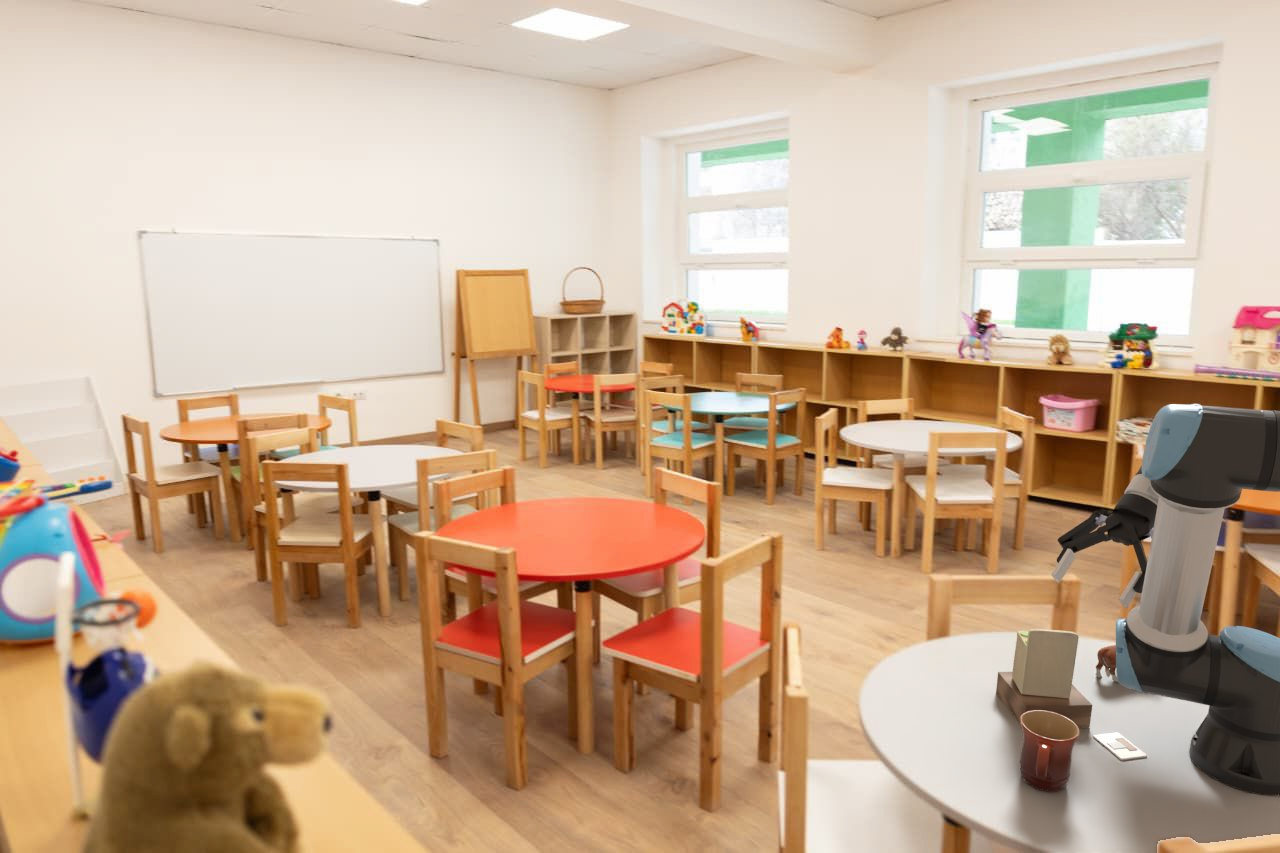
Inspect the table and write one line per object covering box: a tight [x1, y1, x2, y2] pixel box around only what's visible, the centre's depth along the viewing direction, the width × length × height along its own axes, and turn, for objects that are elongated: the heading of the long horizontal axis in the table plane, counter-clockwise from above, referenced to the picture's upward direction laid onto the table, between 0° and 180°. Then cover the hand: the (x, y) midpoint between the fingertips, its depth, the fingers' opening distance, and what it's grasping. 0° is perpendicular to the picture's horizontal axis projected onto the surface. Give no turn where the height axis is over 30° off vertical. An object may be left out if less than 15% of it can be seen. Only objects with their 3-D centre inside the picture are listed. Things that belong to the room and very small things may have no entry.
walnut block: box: [995, 671, 1093, 729], centre depth 159 cm, size 12×12×5 cm
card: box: [1092, 731, 1148, 761], centre depth 148 cm, size 7×5×1 cm
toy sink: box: [1011, 628, 1079, 698], centre depth 157 cm, size 8×7×13 cm
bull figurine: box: [1095, 644, 1119, 683], centre depth 171 cm, size 4×13×8 cm, turn 103°
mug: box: [1019, 710, 1081, 793], centre depth 137 cm, size 12×9×10 cm
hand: (1087, 591), depth 162 cm, fingers open, 13 cm apart
